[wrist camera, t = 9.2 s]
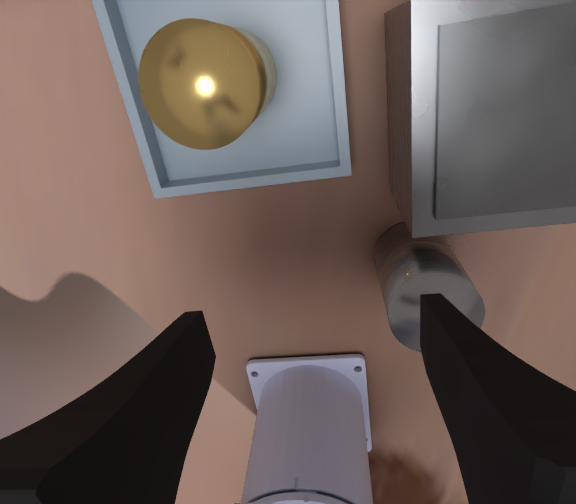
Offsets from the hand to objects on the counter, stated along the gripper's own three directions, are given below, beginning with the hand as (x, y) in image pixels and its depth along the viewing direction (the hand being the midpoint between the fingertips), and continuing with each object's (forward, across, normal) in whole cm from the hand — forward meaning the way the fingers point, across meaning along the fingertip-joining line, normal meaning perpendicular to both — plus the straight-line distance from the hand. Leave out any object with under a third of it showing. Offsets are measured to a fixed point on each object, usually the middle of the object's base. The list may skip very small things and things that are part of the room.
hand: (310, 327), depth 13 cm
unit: (+10, -9, -5) cm, 14 cm away
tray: (+10, +3, -8) cm, 13 cm away
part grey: (+10, -5, +3) cm, 11 cm away
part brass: (+9, +3, -7) cm, 12 cm away
